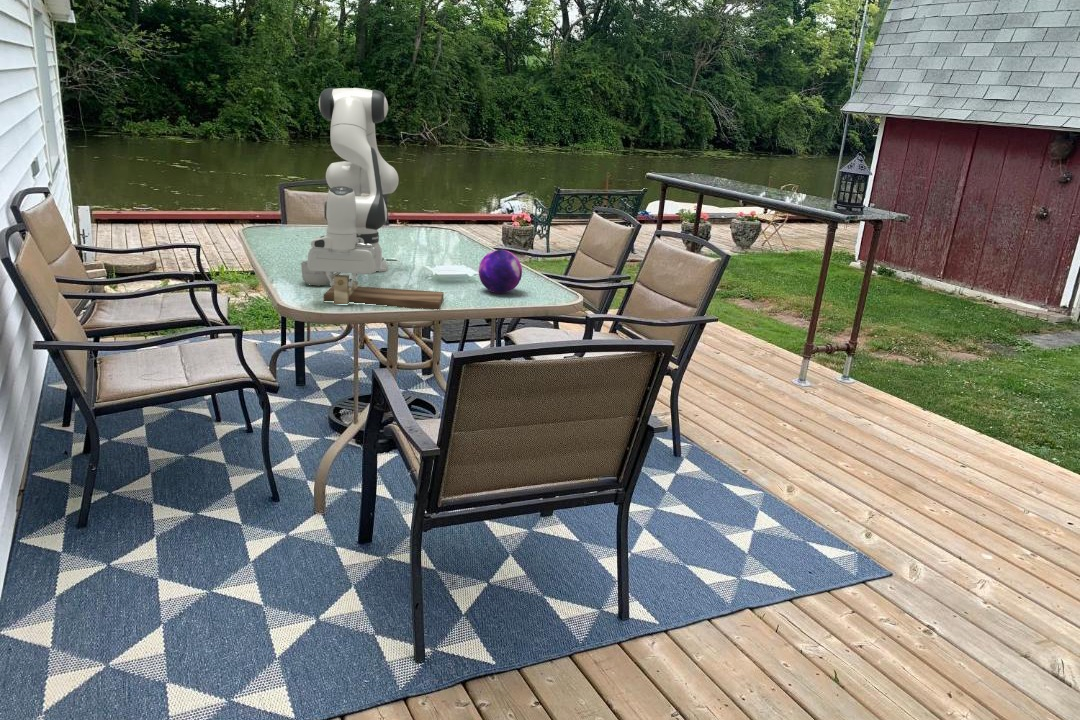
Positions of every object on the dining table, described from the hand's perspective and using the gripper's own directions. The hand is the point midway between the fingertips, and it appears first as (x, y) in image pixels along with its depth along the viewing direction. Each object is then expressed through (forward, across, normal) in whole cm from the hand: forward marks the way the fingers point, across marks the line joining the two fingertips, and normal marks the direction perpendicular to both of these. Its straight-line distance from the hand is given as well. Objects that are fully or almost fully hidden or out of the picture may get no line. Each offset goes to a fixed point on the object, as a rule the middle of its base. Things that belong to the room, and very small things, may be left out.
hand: (341, 286), depth 248 cm
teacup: (+6, +12, -26) cm, 29 cm away
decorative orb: (+6, -48, -31) cm, 57 cm away
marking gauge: (+6, 0, -6) cm, 9 cm away
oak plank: (+6, -12, -9) cm, 16 cm away
